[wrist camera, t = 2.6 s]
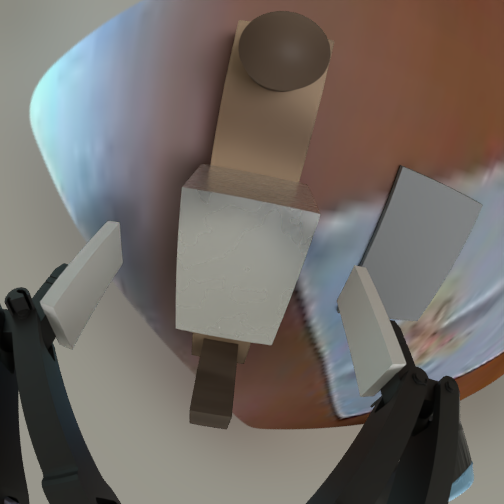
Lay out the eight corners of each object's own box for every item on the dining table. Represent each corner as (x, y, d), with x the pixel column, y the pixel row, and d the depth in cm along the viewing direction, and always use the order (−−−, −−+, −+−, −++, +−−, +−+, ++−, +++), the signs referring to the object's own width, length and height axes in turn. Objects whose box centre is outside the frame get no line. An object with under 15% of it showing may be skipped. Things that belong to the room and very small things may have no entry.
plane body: (245, 340, 27) (239, 430, 18) (197, 331, 26) (177, 420, 18) (322, 49, 13) (390, 5, 4) (243, 32, 12) (218, -37, 4)
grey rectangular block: (270, 302, 20) (271, 345, 16) (189, 287, 19) (175, 328, 16) (307, 184, 15) (320, 214, 11) (201, 163, 14) (182, 187, 11)
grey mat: (415, 318, 25) (417, 321, 24) (337, 309, 24) (337, 312, 24) (480, 203, 17) (482, 205, 17) (400, 165, 16) (402, 166, 16)
